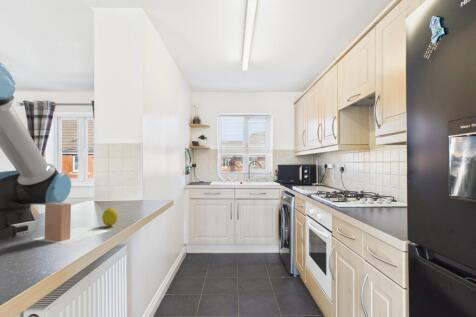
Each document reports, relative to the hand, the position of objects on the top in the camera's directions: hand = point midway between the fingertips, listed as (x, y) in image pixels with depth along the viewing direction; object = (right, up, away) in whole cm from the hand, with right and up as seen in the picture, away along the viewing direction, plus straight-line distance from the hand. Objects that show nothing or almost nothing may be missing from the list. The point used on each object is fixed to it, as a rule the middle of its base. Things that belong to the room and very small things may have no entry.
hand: (36, 225), depth 80 cm
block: (+2, -6, +6) cm, 9 cm away
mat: (+4, -7, +12) cm, 14 cm away
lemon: (+11, -7, +24) cm, 27 cm away
